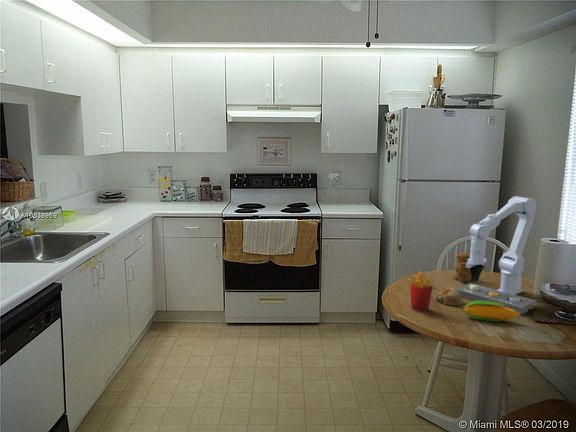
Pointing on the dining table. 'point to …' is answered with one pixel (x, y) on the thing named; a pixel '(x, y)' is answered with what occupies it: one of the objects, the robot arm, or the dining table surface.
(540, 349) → the dining table surface
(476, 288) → the green button
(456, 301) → the bread roll
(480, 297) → the button console
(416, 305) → the french fries
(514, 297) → the blue button
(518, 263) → the robot arm
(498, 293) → the orange button
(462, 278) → the stuffed squirrel
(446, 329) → the dining table surface
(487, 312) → the corn
